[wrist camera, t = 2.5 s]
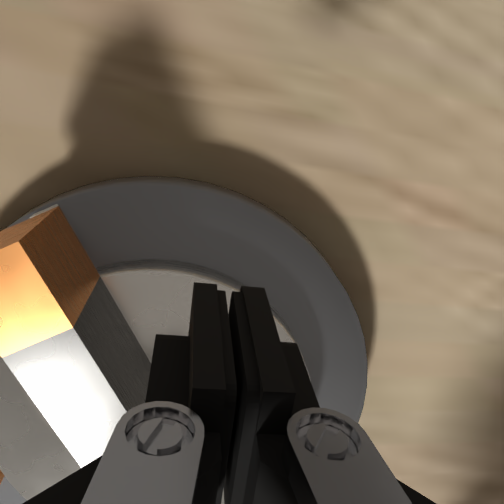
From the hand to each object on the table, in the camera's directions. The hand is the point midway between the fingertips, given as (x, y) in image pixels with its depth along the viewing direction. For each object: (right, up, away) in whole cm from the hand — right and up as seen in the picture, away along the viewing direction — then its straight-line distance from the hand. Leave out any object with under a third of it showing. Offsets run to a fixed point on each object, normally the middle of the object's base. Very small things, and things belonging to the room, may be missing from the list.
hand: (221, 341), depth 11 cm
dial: (-4, -3, +10) cm, 12 cm away
